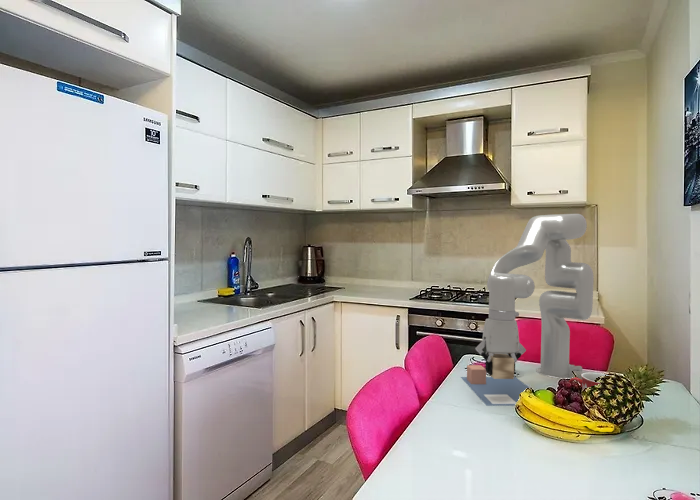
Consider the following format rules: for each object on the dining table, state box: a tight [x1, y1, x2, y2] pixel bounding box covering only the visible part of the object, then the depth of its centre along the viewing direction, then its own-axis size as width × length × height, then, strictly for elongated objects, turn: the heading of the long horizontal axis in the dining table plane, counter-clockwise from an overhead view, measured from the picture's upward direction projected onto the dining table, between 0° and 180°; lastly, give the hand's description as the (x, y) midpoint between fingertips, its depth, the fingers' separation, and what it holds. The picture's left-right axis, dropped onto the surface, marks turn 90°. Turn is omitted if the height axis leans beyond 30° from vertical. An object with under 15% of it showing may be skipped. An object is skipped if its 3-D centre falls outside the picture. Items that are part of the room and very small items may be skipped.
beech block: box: [489, 354, 515, 379], centre depth 129 cm, size 6×6×6 cm
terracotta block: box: [466, 364, 487, 384], centre depth 146 cm, size 5×5×5 cm
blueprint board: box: [460, 376, 530, 407], centre depth 138 cm, size 20×26×1 cm
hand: (500, 373), depth 129 cm, fingers closed on beech block, 6 cm apart
